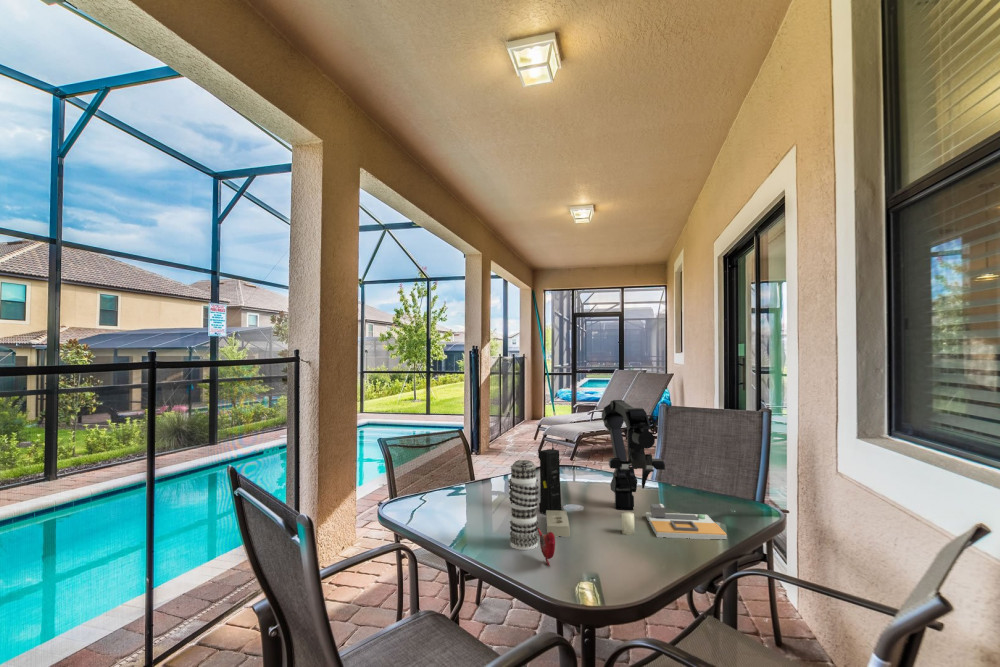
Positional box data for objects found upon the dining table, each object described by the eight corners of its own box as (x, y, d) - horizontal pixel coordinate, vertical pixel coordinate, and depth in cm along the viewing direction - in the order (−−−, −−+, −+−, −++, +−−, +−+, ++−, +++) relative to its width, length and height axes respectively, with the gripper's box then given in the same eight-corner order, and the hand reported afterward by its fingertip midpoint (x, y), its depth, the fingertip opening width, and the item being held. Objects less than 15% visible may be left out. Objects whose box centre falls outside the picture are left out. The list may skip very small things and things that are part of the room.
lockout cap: (622, 534, 148) (622, 515, 148) (621, 530, 152) (620, 511, 152) (635, 535, 147) (635, 516, 148) (633, 530, 151) (633, 512, 152)
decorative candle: (509, 538, 145) (508, 458, 147) (538, 539, 145) (537, 458, 146) (508, 550, 136) (508, 464, 138) (540, 550, 136) (539, 464, 137)
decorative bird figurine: (548, 575, 120) (548, 536, 120) (533, 548, 137) (532, 514, 138) (559, 574, 120) (558, 535, 121) (542, 548, 137) (542, 514, 138)
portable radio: (548, 516, 166) (547, 446, 168) (536, 512, 171) (535, 444, 172) (562, 511, 171) (561, 444, 173) (551, 508, 176) (550, 442, 178)
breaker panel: (657, 537, 146) (656, 528, 146) (645, 516, 165) (645, 509, 166) (726, 540, 143) (726, 531, 143) (707, 518, 162) (706, 511, 163)
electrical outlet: (566, 508, 164) (569, 525, 146) (566, 519, 164) (569, 538, 146) (546, 507, 165) (547, 524, 147) (546, 519, 164) (547, 538, 147)
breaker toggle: (653, 516, 159) (652, 506, 160) (651, 513, 163) (650, 503, 164) (665, 517, 159) (664, 507, 159) (662, 513, 163) (662, 503, 163)
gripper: (611, 447, 157) (612, 493, 156) (667, 448, 155) (669, 495, 153) (608, 441, 168) (609, 485, 167) (660, 442, 166) (662, 486, 164)
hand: (636, 488), depth 163 cm, fingers open, 4 cm apart
